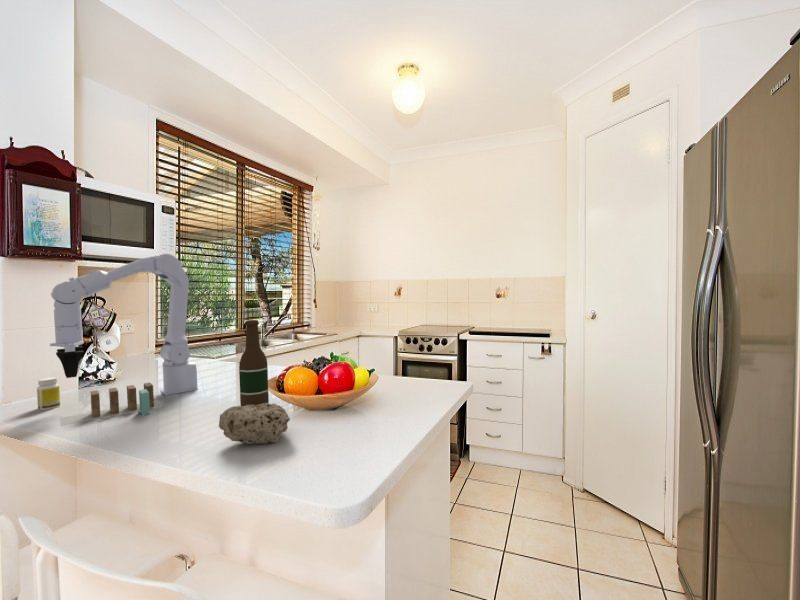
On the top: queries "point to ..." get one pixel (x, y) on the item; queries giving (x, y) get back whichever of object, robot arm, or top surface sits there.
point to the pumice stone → (254, 423)
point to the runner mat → (102, 414)
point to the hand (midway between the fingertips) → (71, 375)
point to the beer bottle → (253, 369)
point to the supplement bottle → (48, 394)
